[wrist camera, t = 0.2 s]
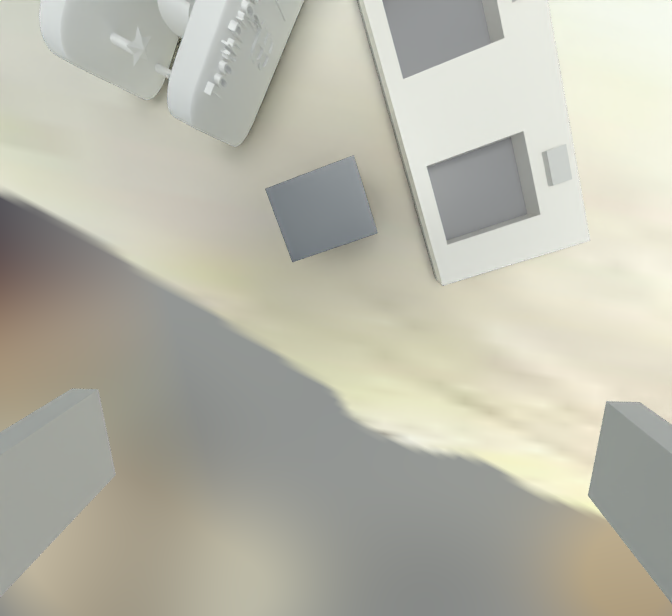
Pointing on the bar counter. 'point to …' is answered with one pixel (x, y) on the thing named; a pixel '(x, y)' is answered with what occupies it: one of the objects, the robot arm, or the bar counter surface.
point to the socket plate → (479, 128)
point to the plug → (322, 209)
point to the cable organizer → (179, 52)
